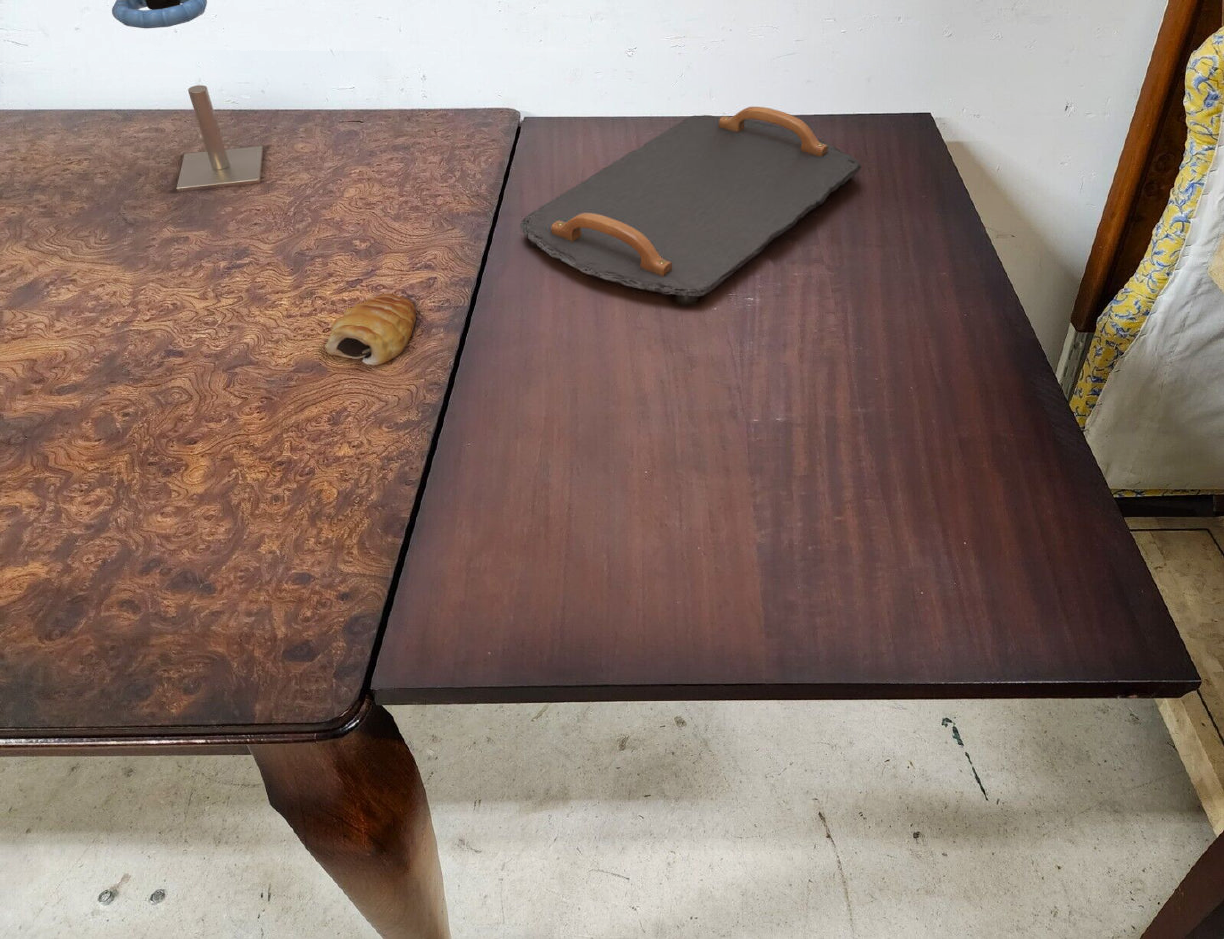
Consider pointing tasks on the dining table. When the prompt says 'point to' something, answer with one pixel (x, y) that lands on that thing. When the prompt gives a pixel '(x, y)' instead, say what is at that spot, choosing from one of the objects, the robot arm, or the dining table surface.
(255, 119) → the dining table surface
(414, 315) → the pastry
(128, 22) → the ring
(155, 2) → the robot arm
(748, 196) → the serving tray
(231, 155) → the peg on square base
